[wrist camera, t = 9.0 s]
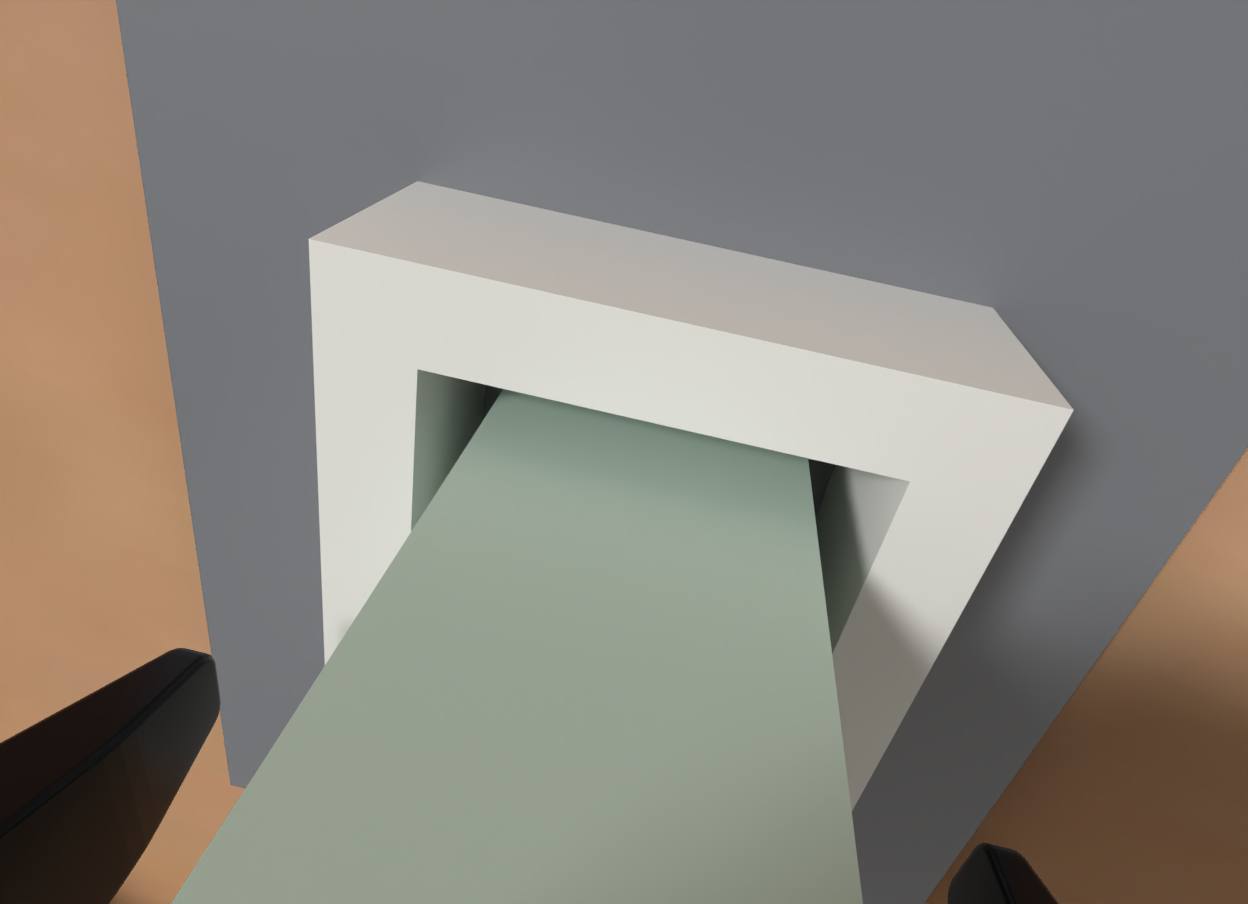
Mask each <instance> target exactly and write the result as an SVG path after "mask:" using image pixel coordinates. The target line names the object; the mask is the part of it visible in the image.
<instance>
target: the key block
mask: <svg viewBox="0 0 1248 904" xmlns="http://www.w3.org/2000/svg"><path fill="white" fill-rule="evenodd" d="M171 904H863V900H862V892H861V884H860V876H859V868H858V859H857V851H856V843H855V835H854V827H853V819H852V811H851V803H850V795H849V787H848V778H847V770H846V762H845V754H844V746H843V738H842V730H841V722H840V714H839V705H838V697H837V689H836V681H835V673H834V665H833V657H832V649H831V641H830V633H829V624H828V616H827V608H826V600H825V592H824V584H823V576H822V568H821V560H820V551H819V543H818V535H817V527H816V519H815V511H814V503H813V495H812V487H811V479H810V470H809V462H808V458H804V457H800V456H796V455H791V454H787V453H782V452H778V451H774V450H769V449H765V448H761V447H756V446H752V445H747V444H743V443H739V442H734V441H730V440H725V439H721V438H717V437H712V436H708V435H704V434H699V433H695V432H690V431H686V430H682V429H677V428H673V427H669V426H664V425H660V424H655V423H651V422H647V421H642V420H638V419H633V418H629V417H625V416H620V415H616V414H612V413H607V412H603V411H598V410H594V409H590V408H585V407H581V406H576V405H572V404H568V403H563V402H559V401H555V400H550V399H546V398H541V397H537V396H533V395H528V394H524V393H519V392H515V391H511V390H506V389H503V390H502V392H501V393H500V395H499V397H498V398H497V400H496V401H495V403H494V404H493V406H492V407H491V409H490V411H489V412H488V414H487V415H486V417H485V418H484V420H483V421H482V423H481V424H480V426H479V428H478V429H477V431H476V432H475V434H474V435H473V437H472V438H471V440H470V442H469V443H468V445H467V446H466V448H465V449H464V451H463V452H462V454H461V455H460V457H459V459H458V460H457V462H456V463H455V465H454V466H453V468H452V469H451V471H450V473H449V474H448V476H447V477H446V479H445V480H444V482H443V483H442V485H441V486H440V488H439V490H438V491H437V493H436V494H435V496H434V497H433V499H432V500H431V502H430V504H429V505H428V507H427V508H426V510H425V511H424V513H423V514H422V516H421V517H420V519H419V521H418V522H417V524H416V525H415V527H414V528H413V530H412V531H411V533H410V534H409V536H408V538H407V539H406V541H405V542H404V544H403V545H402V547H401V548H400V550H399V552H398V553H397V555H396V556H395V558H394V559H393V561H392V562H391V564H390V565H389V567H388V569H387V570H386V572H385V573H384V575H383V576H382V578H381V579H380V581H379V583H378V584H377V586H376V587H375V589H374V590H373V592H372V593H371V595H370V596H369V598H368V600H367V601H366V603H365V604H364V606H363V607H362V609H361V610H360V612H359V614H358V615H357V617H356V618H355V620H354V621H353V623H352V624H351V626H350V627H349V629H348V631H347V632H346V634H345V635H344V637H343V638H342V640H341V641H340V643H339V644H338V646H337V648H336V649H335V651H334V652H333V654H332V655H331V657H330V658H329V660H328V662H327V663H326V665H325V666H324V668H323V669H322V671H321V672H320V674H319V675H318V677H317V679H316V680H315V682H314V683H313V685H312V686H311V688H310V689H309V691H308V693H307V694H306V696H305V697H304V699H303V700H302V702H301V703H300V705H299V706H298V708H297V710H296V711H295V713H294V714H293V716H292V717H291V719H290V720H289V722H288V724H287V725H286V727H285V728H284V730H283V731H282V733H281V734H280V736H279V737H278V739H277V741H276V742H275V744H274V745H273V747H272V748H271V750H270V751H269V753H268V755H267V756H266V758H265V759H264V761H263V762H262V764H261V765H260V767H259V768H258V770H257V772H256V773H255V775H254V776H253V778H252V779H251V781H250V782H249V784H248V785H247V787H246V789H245V790H244V792H243V793H242V795H241V796H240V798H239V799H238V801H237V803H236V804H235V806H234V807H233V809H232V810H231V812H230V813H229V815H228V816H227V818H226V820H225V821H224V823H223V824H222V826H221V827H220V829H219V830H218V832H217V834H216V835H215V837H214V838H213V840H212V841H211V843H210V844H209V846H208V847H207V849H206V851H205V852H204V854H203V855H202V857H201V858H200V860H199V861H198V863H197V865H196V866H195V868H194V869H193V871H192V872H191V874H190V875H189V877H188V878H187V880H186V882H185V883H184V885H183V886H182V888H181V889H180V891H179V892H178V894H177V895H176V897H175V899H174V900H173V902H172V903H171Z"/></svg>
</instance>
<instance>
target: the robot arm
mask: <svg viewBox="0 0 1248 904" xmlns="http://www.w3.org/2000/svg"><path fill="white" fill-rule="evenodd" d="M220 704H221V698H220V691H219V684H218V677H217V670H216V663H215V660H214V659H213V657H212V656H211V655H209V654H206V653H202V652H198V651H194V650H190V649H185V648H177V649H174V650H171V651H168V652H166V653H165V654H163V655H161V656H159V657H157V658H155V659H154V660H152V661H150V662H148V663H146V664H144V665H143V666H141V667H139V668H137V669H135V670H133V671H132V672H130V673H128V674H126V675H124V676H122V677H121V678H119V679H117V680H115V681H113V682H111V683H110V684H108V685H106V686H104V687H102V688H100V689H99V690H97V691H95V692H93V693H91V694H89V695H88V696H86V697H84V698H82V699H80V700H78V701H77V702H75V703H73V704H71V705H69V706H67V707H66V708H64V709H62V710H60V711H58V712H56V713H55V714H53V715H51V716H49V717H47V718H45V719H44V720H42V721H40V722H38V723H36V724H34V725H33V726H31V727H29V728H27V729H25V730H23V731H22V732H20V733H18V734H16V735H14V736H12V737H11V738H9V739H7V740H5V741H3V742H1V743H0V904H110V902H111V901H112V899H113V898H114V896H115V895H116V893H117V892H118V890H119V889H120V887H121V886H122V884H123V883H124V881H125V880H126V878H127V877H128V875H129V874H130V872H131V871H132V869H133V868H134V866H135V865H136V863H137V862H138V860H139V859H140V857H141V855H142V854H143V852H144V851H145V849H146V848H147V846H148V844H149V843H150V841H151V839H152V837H153V836H154V834H155V832H156V830H157V829H158V827H159V825H160V823H161V821H162V819H163V818H164V816H165V814H166V812H167V810H168V808H169V807H170V805H171V803H172V801H173V799H174V797H175V795H176V794H177V792H178V790H179V788H180V786H181V784H182V783H183V781H184V779H185V777H186V775H187V773H188V771H189V770H190V768H191V766H192V764H193V762H194V760H195V759H196V757H197V755H198V753H199V751H200V749H201V747H202V746H203V744H204V742H205V740H206V738H207V736H208V735H209V733H210V731H211V729H212V727H213V725H214V723H215V721H216V719H217V717H218V714H219V710H220ZM948 904H1058V902H1057V901H1056V900H1055V898H1054V897H1053V896H1052V894H1051V893H1050V892H1049V890H1048V889H1047V888H1046V886H1045V885H1044V884H1043V882H1042V881H1041V879H1040V878H1039V877H1038V875H1037V874H1036V873H1035V871H1034V870H1033V869H1032V867H1031V866H1030V865H1029V863H1028V862H1027V861H1026V859H1025V858H1024V857H1023V856H1022V855H1021V854H1019V853H1018V852H1016V851H1014V850H1012V849H1008V848H1004V847H1000V846H996V845H991V844H987V843H983V844H980V845H978V846H977V847H976V848H975V849H974V850H973V852H972V853H971V854H970V856H969V857H968V859H967V860H966V861H965V863H964V864H963V865H962V867H961V868H960V870H959V871H958V872H957V874H956V875H955V877H954V878H953V880H952V882H951V884H950V887H949V892H948Z"/></svg>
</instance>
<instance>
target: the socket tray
mask: <svg viewBox="0 0 1248 904" xmlns="http://www.w3.org/2000/svg"><path fill="white" fill-rule="evenodd" d="M116 4H117V11H118V17H119V24H120V31H121V38H122V45H123V52H124V58H125V65H126V72H127V79H128V86H129V93H130V100H131V106H132V113H133V120H134V127H135V134H136V141H137V147H138V154H139V161H140V168H141V175H142V182H143V188H144V195H145V202H146V209H147V216H148V223H149V229H150V236H151V243H152V250H153V257H154V264H155V270H156V277H157V284H158V291H159V298H160V305H161V311H162V318H163V325H164V332H165V339H166V346H167V352H168V359H169V366H170V373H171V380H172V387H173V394H174V400H175V407H176V414H177V421H178V428H179V435H180V441H181V448H182V455H183V462H184V469H185V476H186V482H187V489H188V496H189V503H190V510H191V517H192V523H193V530H194V537H195V544H196V551H197V558H198V564H199V571H200V578H201V585H202V592H203V599H204V605H205V612H206V619H207V626H208V633H209V640H210V647H211V653H212V657H213V659H214V660H215V663H216V670H217V677H218V684H219V691H220V698H221V704H220V715H221V722H222V729H223V735H224V742H225V749H226V756H227V763H228V770H229V776H230V783H231V785H233V786H237V787H242V788H246V787H247V785H248V784H249V782H250V781H251V779H252V778H253V776H254V775H255V773H256V772H257V770H258V768H259V767H260V765H261V764H262V762H263V761H264V759H265V758H266V756H267V755H268V753H269V751H270V750H271V748H272V747H273V745H274V744H275V742H276V741H277V739H278V737H279V736H280V734H281V733H282V731H283V730H284V728H285V727H286V725H287V724H288V722H289V720H290V719H291V717H292V716H293V714H294V713H295V711H296V710H297V708H298V706H299V705H300V703H301V702H302V700H303V699H304V697H305V696H306V694H307V693H308V691H309V689H310V688H311V686H312V685H313V683H314V682H315V680H316V679H317V677H318V675H319V674H320V672H321V671H322V669H323V668H324V666H325V665H326V663H327V662H328V660H329V658H330V657H331V655H332V654H333V652H334V651H335V649H336V648H337V646H338V644H339V643H340V641H341V640H342V638H343V637H344V635H345V634H346V632H347V631H348V629H349V627H350V626H351V624H352V623H353V621H354V620H355V618H356V617H357V615H358V614H359V612H360V610H361V609H362V607H363V606H364V604H365V603H366V601H367V600H368V598H369V596H370V595H371V593H372V592H373V590H374V589H375V587H376V586H377V584H378V583H379V581H380V579H381V578H382V576H383V575H384V573H385V572H386V570H387V569H388V567H389V565H390V564H391V562H392V561H393V559H394V558H395V556H396V555H397V553H398V552H399V550H400V548H401V547H402V545H403V544H404V542H405V541H406V539H407V538H408V536H409V534H410V533H411V531H412V530H413V528H414V527H415V525H416V524H417V522H418V521H419V519H420V517H421V516H422V514H423V513H424V511H425V510H426V508H427V507H428V505H429V504H430V502H431V500H432V499H433V497H434V496H435V494H436V493H437V491H438V490H439V488H440V486H441V485H442V483H443V482H444V480H445V479H446V477H447V476H448V474H449V473H450V471H451V469H452V468H453V466H454V465H455V463H456V462H457V460H458V459H459V457H460V455H461V454H462V452H463V451H464V449H465V448H466V446H467V445H468V443H469V442H470V440H471V438H472V437H473V435H474V434H475V432H476V431H477V429H478V428H479V426H480V424H481V423H482V421H483V420H484V418H485V417H486V415H487V414H488V412H489V411H490V409H491V407H492V406H493V404H494V403H495V401H496V400H497V398H498V397H499V395H500V393H501V392H502V390H503V389H506V390H511V391H515V392H519V393H524V394H528V395H533V396H537V397H541V398H546V399H550V400H555V401H559V402H563V403H568V404H572V405H576V406H581V407H585V408H590V409H594V410H598V411H603V412H607V413H612V414H616V415H620V416H625V417H629V418H633V419H638V420H642V421H647V422H651V423H655V424H660V425H664V426H669V427H673V428H677V429H682V430H686V431H690V432H695V433H699V434H704V435H708V436H712V437H717V438H721V439H725V440H730V441H734V442H739V443H743V444H747V445H752V446H756V447H761V448H765V449H769V450H774V451H778V452H782V453H787V454H791V455H796V456H800V457H804V458H808V462H809V470H810V479H811V487H812V495H813V503H814V511H815V519H816V527H817V535H818V543H819V551H820V560H821V568H822V576H823V584H824V592H825V600H826V608H827V616H828V624H829V633H830V641H831V649H832V657H833V665H834V673H835V681H836V689H837V697H838V705H839V714H840V722H841V730H842V738H843V746H844V754H845V762H846V770H847V778H848V787H849V795H850V803H851V811H852V819H853V827H854V835H855V843H856V851H857V859H858V868H859V876H860V884H861V892H862V900H863V904H924V903H925V902H926V900H927V899H928V898H929V896H930V895H931V893H932V892H933V890H934V889H935V888H936V886H937V885H938V883H939V882H940V881H941V879H942V878H943V876H944V875H945V874H946V872H947V871H948V869H949V868H950V867H951V865H952V864H953V862H954V861H955V859H956V858H957V857H958V855H959V854H960V852H961V851H962V850H963V848H964V847H965V845H966V844H967V843H968V841H969V840H970V838H971V837H972V835H973V834H974V833H975V831H976V830H977V828H978V827H979V826H980V824H981V823H982V821H983V820H984V819H985V817H986V816H987V814H988V813H989V811H990V810H991V809H992V807H993V806H994V804H995V803H996V802H997V800H998V799H999V797H1000V796H1001V795H1002V793H1003V792H1004V790H1005V789H1006V787H1007V786H1008V785H1009V783H1010V782H1011V780H1012V779H1013V778H1014V776H1015V775H1016V773H1017V772H1018V771H1019V769H1020V768H1021V766H1022V765H1023V764H1024V762H1025V761H1026V759H1027V758H1028V756H1029V755H1030V754H1031V752H1032V751H1033V749H1034V748H1035V747H1036V745H1037V744H1038V742H1039V741H1040V740H1041V738H1042V737H1043V735H1044V734H1045V732H1046V731H1047V730H1048V728H1049V727H1050V725H1051V724H1052V723H1053V721H1054V720H1055V718H1056V717H1057V716H1058V714H1059V713H1060V711H1061V710H1062V708H1063V707H1064V706H1065V704H1066V703H1067V701H1068V700H1069V699H1070V697H1071V696H1072V694H1073V693H1074V692H1075V690H1076V689H1077V687H1078V686H1079V684H1080V683H1081V682H1082V680H1083V679H1084V677H1085V676H1086V675H1087V673H1088V672H1089V670H1090V669H1091V668H1092V666H1093V665H1094V663H1095V662H1096V661H1097V659H1098V658H1099V656H1100V655H1101V653H1102V652H1103V651H1104V649H1105V648H1106V646H1107V645H1108V644H1109V642H1110V641H1111V639H1112V638H1113V637H1114V635H1115V634H1116V632H1117V631H1118V629H1119V628H1120V627H1121V625H1122V624H1123V622H1124V621H1125V620H1126V618H1127V617H1128V615H1129V614H1130V613H1131V611H1132V610H1133V608H1134V607H1135V605H1136V604H1137V603H1138V601H1139V600H1140V598H1141V597H1142V596H1143V594H1144V593H1145V591H1146V590H1147V589H1148V587H1149V586H1150V584H1151V583H1152V582H1153V580H1154V579H1155V577H1156V576H1157V574H1158V573H1159V572H1160V570H1161V569H1162V567H1163V566H1164V565H1165V563H1166V562H1167V560H1168V559H1169V558H1170V556H1171V555H1172V553H1173V552H1174V550H1175V549H1176V548H1177V546H1178V545H1179V543H1180V542H1181V541H1182V539H1183V538H1184V536H1185V535H1186V534H1187V532H1188V531H1189V529H1190V528H1191V526H1192V525H1193V524H1194V522H1195V521H1196V519H1197V518H1198V517H1199V515H1200V514H1201V512H1202V511H1203V510H1204V508H1205V507H1206V505H1207V504H1208V502H1209V501H1210V500H1211V498H1212V497H1213V495H1214V494H1215V493H1216V491H1217V490H1218V488H1219V487H1220V486H1221V484H1222V483H1223V481H1224V480H1225V479H1226V477H1227V476H1228V474H1229V473H1230V471H1231V470H1232V469H1233V467H1234V466H1235V464H1236V463H1237V462H1238V460H1239V459H1240V457H1241V456H1242V455H1243V453H1244V452H1245V450H1246V449H1247V447H1248V0H116Z"/></svg>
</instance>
